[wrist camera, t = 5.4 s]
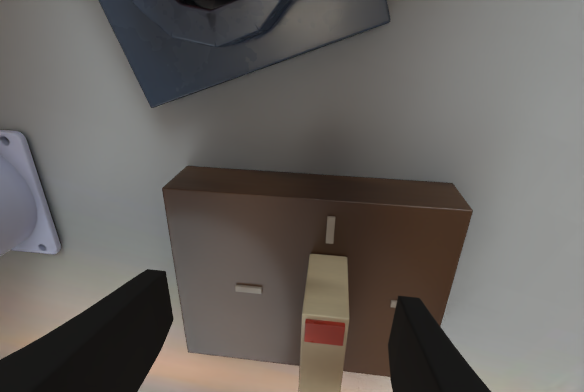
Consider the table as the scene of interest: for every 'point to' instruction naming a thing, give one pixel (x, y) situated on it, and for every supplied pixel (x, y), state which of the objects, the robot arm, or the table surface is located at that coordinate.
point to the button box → (227, 37)
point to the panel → (306, 256)
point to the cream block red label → (324, 324)
